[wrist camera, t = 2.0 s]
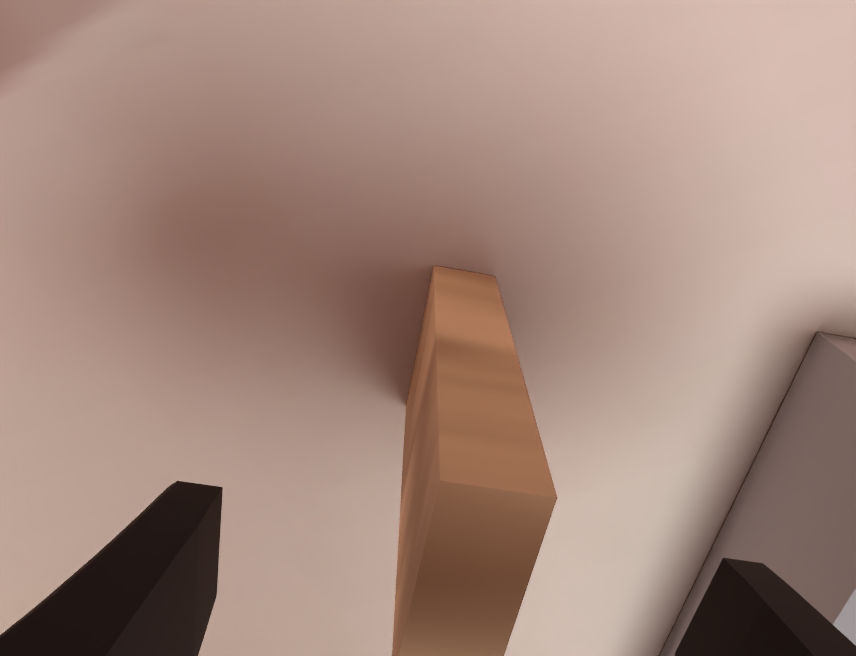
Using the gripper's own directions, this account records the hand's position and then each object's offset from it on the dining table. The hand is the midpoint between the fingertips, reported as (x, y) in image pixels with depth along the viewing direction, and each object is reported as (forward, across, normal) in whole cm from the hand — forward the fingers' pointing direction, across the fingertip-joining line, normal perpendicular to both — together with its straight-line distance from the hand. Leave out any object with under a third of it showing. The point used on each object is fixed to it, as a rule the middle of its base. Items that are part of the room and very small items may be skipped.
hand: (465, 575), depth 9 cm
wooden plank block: (+8, 0, 0) cm, 8 cm away
